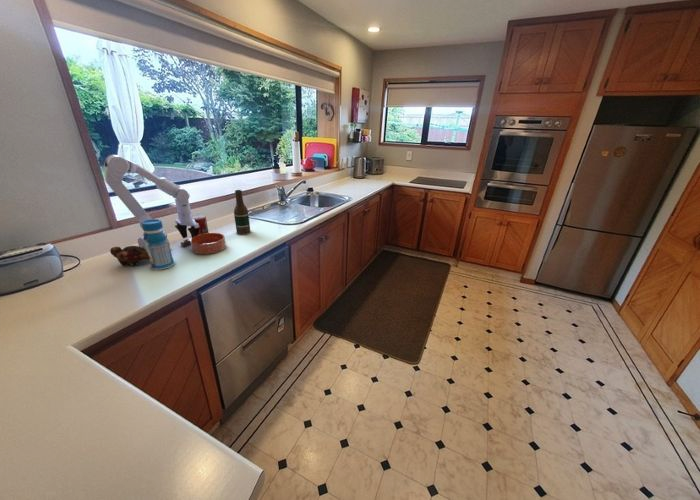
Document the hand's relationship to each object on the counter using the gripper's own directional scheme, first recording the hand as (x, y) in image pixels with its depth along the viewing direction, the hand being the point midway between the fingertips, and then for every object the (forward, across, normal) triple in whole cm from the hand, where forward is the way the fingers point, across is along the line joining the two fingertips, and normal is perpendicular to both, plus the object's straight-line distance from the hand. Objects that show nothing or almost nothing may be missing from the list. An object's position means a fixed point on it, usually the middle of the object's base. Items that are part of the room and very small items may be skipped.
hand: (190, 238), depth 141 cm
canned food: (+3, +5, -10) cm, 11 cm away
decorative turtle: (+3, +2, +26) cm, 26 cm away
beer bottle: (+3, -11, -25) cm, 27 cm away
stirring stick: (+3, 0, 0) cm, 3 cm away
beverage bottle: (+3, -11, +22) cm, 25 cm away
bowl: (+3, -13, 0) cm, 13 cm away
